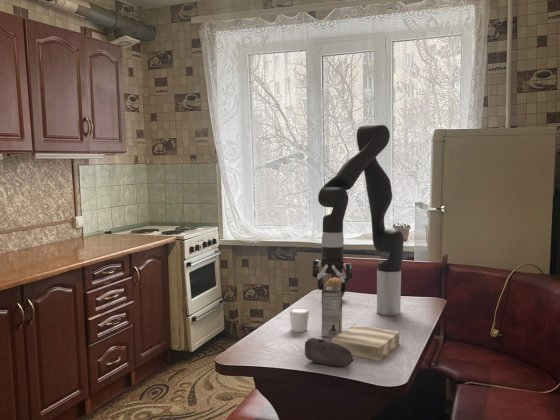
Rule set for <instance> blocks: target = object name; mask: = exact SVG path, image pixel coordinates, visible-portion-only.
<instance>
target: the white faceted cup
mask: <svg viewBox="0 0 560 420" xmlns="http://www.w3.org/2000/svg"><path fill="white" fill-rule="evenodd" d="M309 311H310V310H309V309H307V308H302V307H301V308H300V307H297V308H296V307H295V308H291V309H290V310H289V319H290V329H291V331H293V332H296V333H302V332H306V331H307V330H308V324H309V322H308V321H309V313H310V312H309Z"/></svg>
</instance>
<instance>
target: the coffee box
mask: <svg viewBox="0 0 560 420" xmlns="http://www.w3.org/2000/svg"><path fill="white" fill-rule="evenodd" d="M342 332H343V297H342V293H341V286H327V285H325V284H324V285H323V290H321V337H324V338H325V337H326V338H327V337H328V338H334V337H336V336H337V335H339V334H340V333H342Z"/></svg>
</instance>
